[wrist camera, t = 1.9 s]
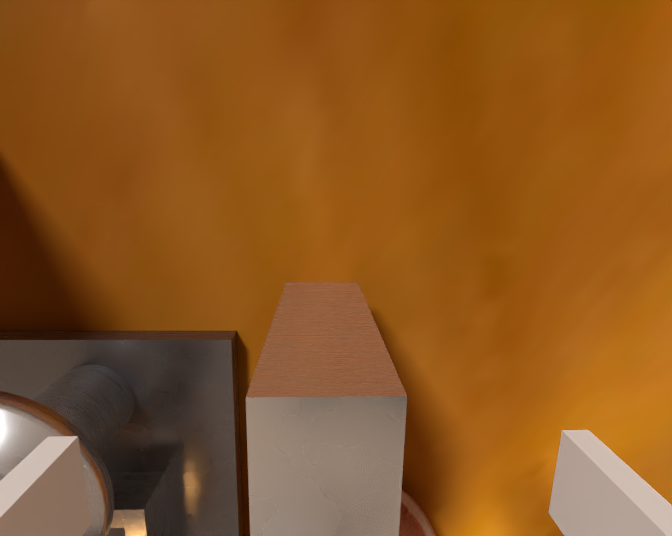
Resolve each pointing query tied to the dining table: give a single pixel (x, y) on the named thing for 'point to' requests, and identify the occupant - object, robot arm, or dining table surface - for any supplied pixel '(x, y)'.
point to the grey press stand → (132, 423)
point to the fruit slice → (413, 518)
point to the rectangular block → (325, 420)
